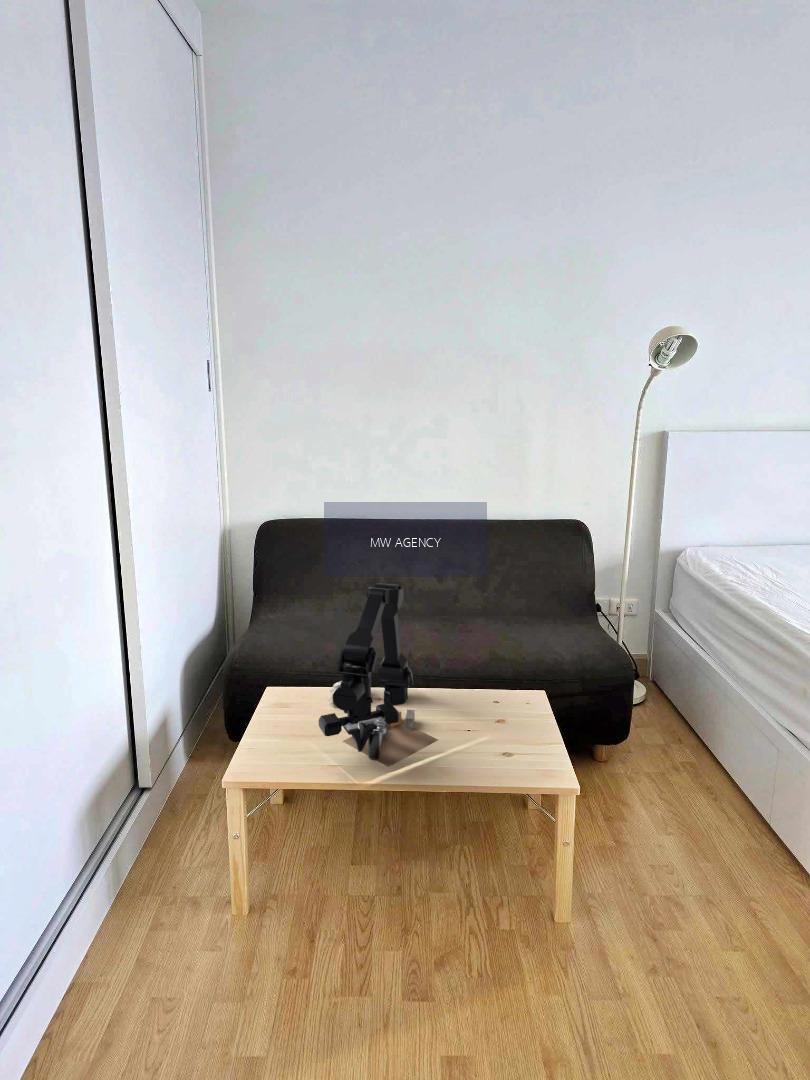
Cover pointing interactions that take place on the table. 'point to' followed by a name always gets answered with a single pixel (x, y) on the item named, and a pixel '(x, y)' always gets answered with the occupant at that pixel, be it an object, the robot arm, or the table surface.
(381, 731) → the lever
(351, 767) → the table surface
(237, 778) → the table surface
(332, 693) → the fossil replica
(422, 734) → the press bench
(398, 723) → the block
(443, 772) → the table surface
